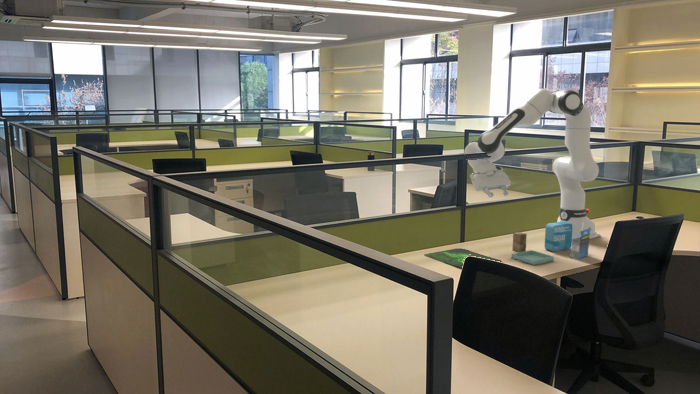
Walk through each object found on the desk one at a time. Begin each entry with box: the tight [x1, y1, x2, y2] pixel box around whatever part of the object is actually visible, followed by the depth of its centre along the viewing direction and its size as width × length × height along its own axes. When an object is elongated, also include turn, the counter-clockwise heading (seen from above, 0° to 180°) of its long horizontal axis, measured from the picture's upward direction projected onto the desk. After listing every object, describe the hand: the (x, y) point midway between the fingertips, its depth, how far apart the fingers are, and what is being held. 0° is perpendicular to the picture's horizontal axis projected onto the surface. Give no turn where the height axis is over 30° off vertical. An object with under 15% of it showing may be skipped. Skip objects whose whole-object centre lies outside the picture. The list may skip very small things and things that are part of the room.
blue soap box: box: [544, 221, 573, 253], centre depth 255 cm, size 12×4×12 cm, turn 116°
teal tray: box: [511, 249, 555, 266], centre depth 239 cm, size 12×12×2 cm
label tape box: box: [570, 228, 590, 260], centre depth 243 cm, size 9×4×12 cm, turn 133°
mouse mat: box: [423, 247, 503, 270], centre depth 242 cm, size 27×22×1 cm
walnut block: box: [511, 231, 527, 253], centre depth 253 cm, size 4×4×8 cm
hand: (499, 195), depth 261 cm, fingers open, 8 cm apart
